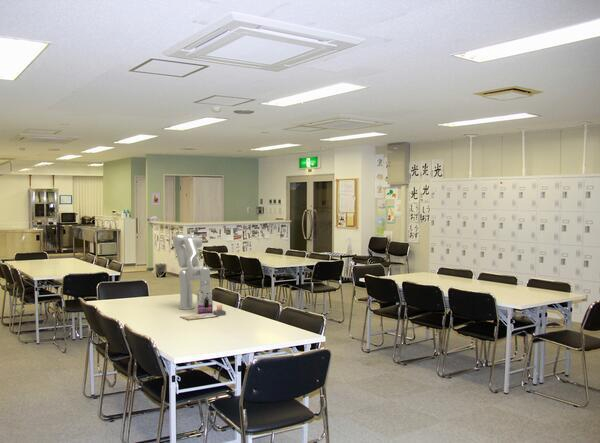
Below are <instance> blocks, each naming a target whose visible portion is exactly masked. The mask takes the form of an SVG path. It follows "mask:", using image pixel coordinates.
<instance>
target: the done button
mask: <svg viewBox="0 0 600 443" xmlns="http://www.w3.org/2000/svg"><path fill="white" fill-rule="evenodd" d="M216 310H217V312H220V311H222V310H223V305H222V304H217V305H216Z"/></svg>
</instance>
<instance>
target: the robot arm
mask: <svg viewBox="0 0 600 443" xmlns="http://www.w3.org/2000/svg"><path fill="white" fill-rule="evenodd" d="M172 244H173V245H172V246H173V247H174V250H175V252H176V257H177V263H178V266H179V267H180V268H181V269H180V270H179V272H178V279H179V287H180V288H179V291H180V301H179V303H180V305H179V306H178V310H194V309H195V306H194V305H193V284H192V281H197V280H199V290H198V292H202V298H203V299H205V303H204V308H208V307H209V299H210V291H211V290H210V286H211V268H210V267H206V266H205V265H200V264H199V260H198V257H199V256H200V252H199V249H200V248H202V246H203V240H202V238H201V237H199V236H197V235H196V234H193V233H181V234H180V233H179V234H176V235H174V237H173V239H172ZM206 299H207V300H206Z"/></svg>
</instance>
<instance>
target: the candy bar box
mask: <svg viewBox="0 0 600 443" xmlns="http://www.w3.org/2000/svg"><path fill="white" fill-rule="evenodd" d="M196 297H197V298H196V299H197V300H196V304H197V305H196V307H197V310H196V311H197V314H205V313H211V314H213V311H214V310H213V308H214V307H213V305H214V304H213V291H212V290H210V299H209V307H208V308H204V303H205V299H203V298H202V292H199V291H197V292H196ZM206 300H207V299H206Z"/></svg>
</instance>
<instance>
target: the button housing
mask: <svg viewBox="0 0 600 443" xmlns="http://www.w3.org/2000/svg"><path fill="white" fill-rule="evenodd" d="M212 314H214V315H216V316H218V317H220V316H226V315H227V311H226V310H224V309H222V311H220V312H217V309H215V310H213V313H212Z"/></svg>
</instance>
